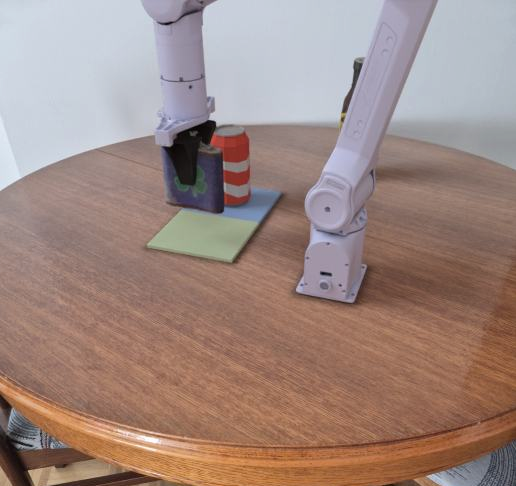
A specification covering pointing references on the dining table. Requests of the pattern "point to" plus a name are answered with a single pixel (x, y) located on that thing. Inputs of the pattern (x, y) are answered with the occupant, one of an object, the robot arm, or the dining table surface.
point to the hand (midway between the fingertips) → (192, 179)
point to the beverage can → (234, 162)
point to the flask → (197, 182)
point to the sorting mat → (216, 228)
